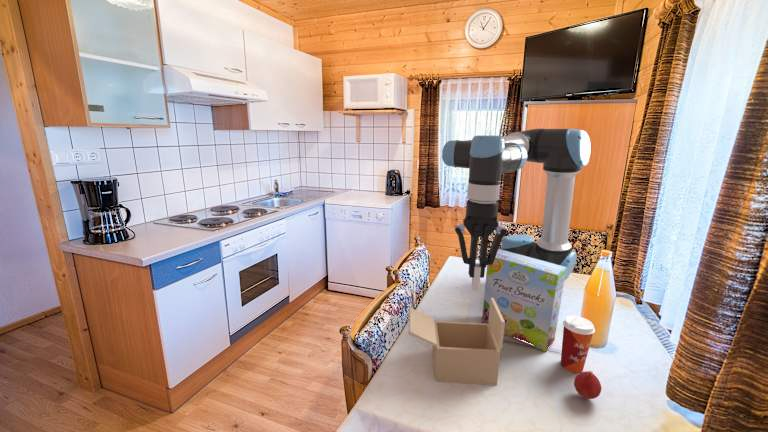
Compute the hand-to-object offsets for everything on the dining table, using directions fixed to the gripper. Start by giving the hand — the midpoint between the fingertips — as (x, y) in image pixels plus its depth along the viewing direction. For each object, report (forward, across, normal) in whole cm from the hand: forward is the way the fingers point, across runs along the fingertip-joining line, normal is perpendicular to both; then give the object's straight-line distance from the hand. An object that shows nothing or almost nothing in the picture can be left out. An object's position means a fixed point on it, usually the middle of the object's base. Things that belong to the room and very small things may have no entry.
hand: (475, 288), depth 91 cm
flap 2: (+10, -6, 0) cm, 11 cm away
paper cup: (+24, -29, -3) cm, 38 cm away
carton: (+24, +2, 0) cm, 24 cm away
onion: (+24, -27, +9) cm, 38 cm away
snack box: (+24, -18, -18) cm, 35 cm away
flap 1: (+12, +13, 0) cm, 18 cm away
